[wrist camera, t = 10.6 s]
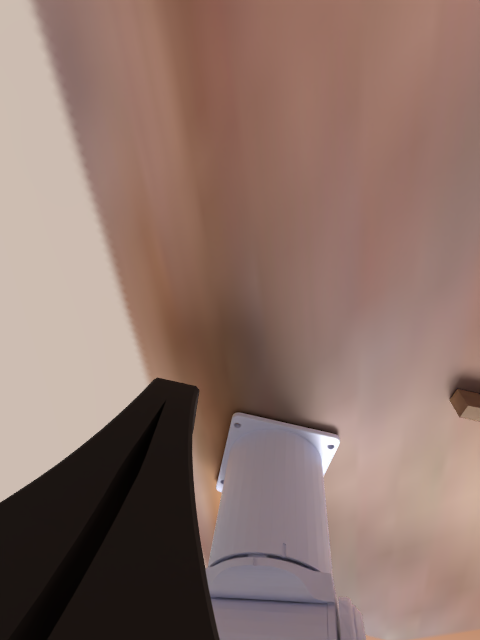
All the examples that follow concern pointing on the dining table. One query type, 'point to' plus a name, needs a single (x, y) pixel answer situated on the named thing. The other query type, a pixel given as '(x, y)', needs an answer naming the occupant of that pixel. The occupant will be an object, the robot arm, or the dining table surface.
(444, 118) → the dining table surface
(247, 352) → the dining table surface
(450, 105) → the dining table surface
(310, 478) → the robot arm
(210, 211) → the dining table surface
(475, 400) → the corral
